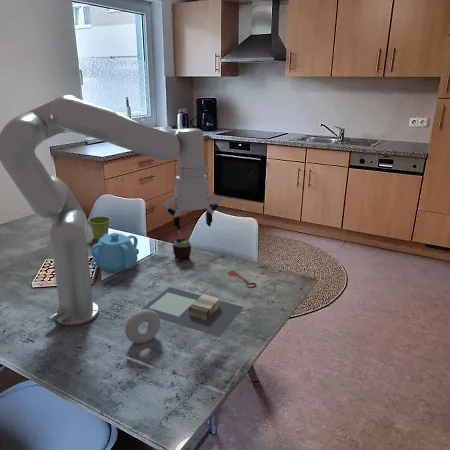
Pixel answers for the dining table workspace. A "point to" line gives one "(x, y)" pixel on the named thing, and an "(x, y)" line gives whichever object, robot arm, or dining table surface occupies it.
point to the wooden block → (204, 307)
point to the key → (241, 278)
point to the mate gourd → (182, 249)
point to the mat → (179, 311)
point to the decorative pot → (115, 252)
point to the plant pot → (99, 226)
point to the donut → (137, 319)
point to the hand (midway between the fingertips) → (193, 226)
